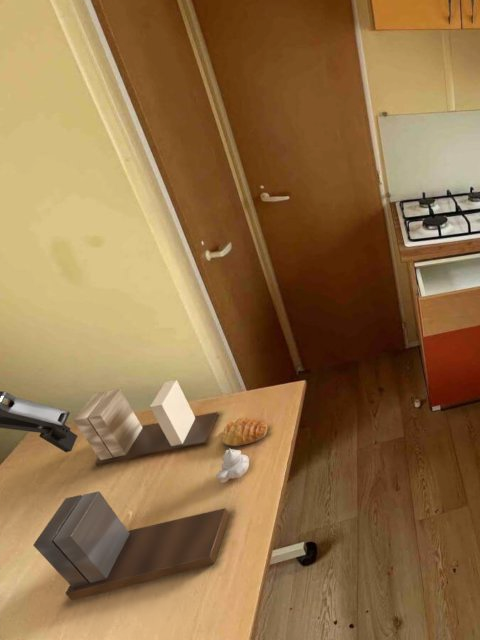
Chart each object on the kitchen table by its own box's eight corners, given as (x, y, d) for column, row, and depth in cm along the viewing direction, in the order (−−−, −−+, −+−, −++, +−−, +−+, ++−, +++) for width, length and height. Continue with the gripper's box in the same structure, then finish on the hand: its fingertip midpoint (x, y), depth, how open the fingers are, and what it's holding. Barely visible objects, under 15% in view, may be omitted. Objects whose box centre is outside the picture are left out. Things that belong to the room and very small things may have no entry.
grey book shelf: (71, 601, 73) (24, 551, 66) (102, 545, 81) (63, 495, 74) (214, 564, 78) (184, 514, 71) (230, 515, 86) (204, 465, 79)
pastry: (273, 423, 107) (269, 412, 105) (261, 446, 101) (257, 435, 99) (235, 425, 106) (230, 415, 104) (220, 448, 100) (215, 438, 99)
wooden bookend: (96, 466, 96) (67, 423, 90) (119, 433, 104) (93, 391, 98) (205, 444, 101) (184, 402, 95) (218, 414, 109) (200, 374, 103)
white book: (171, 446, 100) (149, 407, 94) (184, 420, 107) (165, 381, 101) (182, 444, 100) (161, 404, 94) (195, 418, 107) (176, 379, 101)
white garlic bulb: (258, 466, 96) (247, 443, 92) (230, 492, 91) (218, 468, 87) (241, 458, 98) (230, 434, 94) (214, 482, 93) (201, 458, 89)
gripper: (-254, 444, 50) (-92, 499, 65) (11, 396, 57) (103, 457, 71) (-200, 387, 55) (-62, 451, 70) (37, 350, 62) (118, 415, 76)
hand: (22, 454), depth 71 cm, fingers open, 13 cm apart
